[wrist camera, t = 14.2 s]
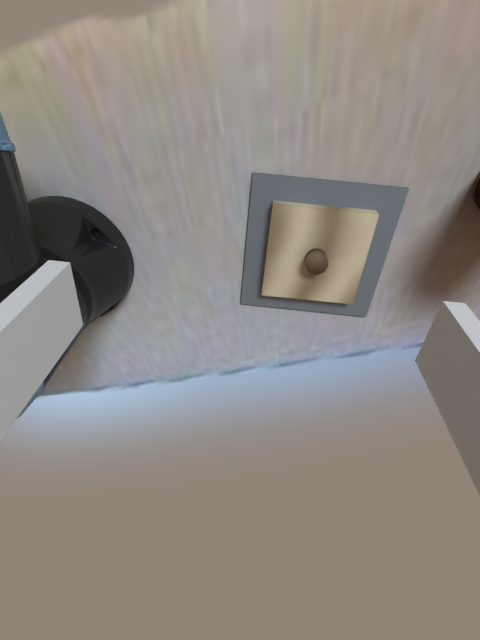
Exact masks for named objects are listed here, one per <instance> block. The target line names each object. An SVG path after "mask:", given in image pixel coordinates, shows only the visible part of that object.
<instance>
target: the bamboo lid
mask: <svg viewBox="0 0 480 640" xmlns="http://www.w3.org/2000/svg"><path fill="white" fill-rule="evenodd" d="M378 217H379V214H378V212H377V211H376V210H367V209H357V208H346V207H336V206H325V205H314V204H304V203H293V202H283V201H273V203H272V211H271V219H270V227H269V235H268V243H267V251H266V260H265V268H264V276H263V284H262V295H264V296H274V297H284V298H294V299H304V300H314V301H324V302H334V303H344V304H353V302H354V298H355V295H356V291H357V288H358V285H359V281H360V278H361V275H362V271H363V268H364V265H365V261H366V258H367V254H368V251H369V248H370V244H371V241H372V238H373V234H374V231H375V228H376V224H377V221H378Z"/></svg>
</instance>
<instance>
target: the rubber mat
mask: <svg viewBox="0 0 480 640" xmlns="http://www.w3.org/2000/svg"><path fill="white" fill-rule="evenodd" d="M408 190H409V188H404V187H394V186H384V185H374V184H364V183H354V182H344V181H333V180H323V179H313V178H303V177H293V176H283V175H273V174H263V173H253V176H252V186H251V197H250V208H249V219H248V229H247V240H246V251H245V262H244V273H243V283H242V294H241V304H247V305H256V306H266V307H276V308H285V309H295V310H305V311H314V312H324V313H333V314H343V315H353V316H362V317H366V315H367V312H368V309H369V306H370V303H371V300H372V297H373V294H374V291H375V288H376V285H377V282H378V279H379V276H380V273H381V270H382V267H383V264H384V261H385V258H386V255H387V252H388V249H389V246H390V243H391V240H392V237H393V234H394V231H395V228H396V225H397V222H398V219H399V216H400V213H401V210H402V207H403V204H404V201H405V199H406V196H407V193H408ZM273 201H283V202H293V203H304V204H314V205H325V206H336V207H346V208H357V209H367V210H376V211H377V212H378V214H379V217H378V221H377V224H376V228H375V231H374V234H373V238H372V241H371V244H370V248H369V251H368V254H367V258H366V261H365V265H364V268H363V271H362V275H361V278H360V281H359V285H358V288H357V291H356V295H355V298H354V302H353V304H344V303H334V302H324V301H314V300H304V299H294V298H284V297H274V296H264V295H262V284H263V276H264V268H265V260H266V251H267V243H268V235H269V227H270V219H271V211H272V203H273Z"/></svg>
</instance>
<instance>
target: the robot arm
mask: <svg viewBox="0 0 480 640" xmlns="http://www.w3.org/2000/svg"><path fill="white" fill-rule="evenodd" d="M14 152H16V149H15V146H14V144H13V143H12V142H11V141H10V139H9V136H8V133H7V130H6V127H5V124H4V121H3V119H2V116H1V113H0V441H1V439H2V438H3V437H4V435H5V434H6V432H7V431H8V430H9V428H10V427H11V426H12V424H13V423H14V421H15V420H16V419H17V418H18V417H20V416H21V415H22V414H23V413H24V412H25V410H26V409H27V407H28V406H29V405H30V404H31V403H32V402H33V401H34V400H35V398H36V397H38V396H40V395H41V394H42V392H43V391H44V388H45V385H46V384H47V382H48V381H49V379H50V378H51V376H52V375H53V373H54V372H55V370H56V369H57V367H58V366H59V364H60V363H61V362H62V360H63V359H64V357H65V356H66V354H67V353H68V351H69V350H70V348H71V347H72V346H73V344H74V343H75V341H76V340H77V338H78V337H79V336H80V334H81V333H82V331H83V330H84V328H85V327H86V325H87V324H89V323H91V322H93V321H94V320H96V319H97V318H98V317H100V316H103V315H105V314H107V313H109V312H110V311H112V310H113V309H114V308H116V307H117V306H118V305H119V304H120V302H121V301H122V300H123V298H124V297H125V295H126V294H127V292H128V290H129V289H130V287H131V284H132V281H133V276H134V263H133V257H132V254H131V251H130V248H129V246H128V244H127V242H126V240H125V238H124V237H123V235H122V234H121V232H120V231H119V230H118V228H117V227H116V226H115V225H114V224H113V223H112V222H111V221H110V220H109V219H108V218H107V217H106V216H105V215H103V214H102V213H101V212H99V211H98V210H96V209H95V208H93V207H91V206H89V205H87V204H85V203H83V202H81V201H78V200H75V199H72V198H67V197H61V196H46V197H40V198H37V199H34V200H32V201H30V202H27V199H26V195H25V192H24V188H23V184H22V181H21V177H20V173H19V169H18V166H17V162H16V158H15V154H14ZM415 361H416V363H417V365H418V367H419V370H420V372H421V373H422V376H423V378H424V380H425V382H426V384H427V386H428V388H429V390H430V392H431V395H432V397H433V399H434V401H435V403H436V405H437V407H438V409H439V411H440V414H441V415H442V417H443V420H444V422H445V424H446V426H447V428H448V430H449V432H450V434H451V437H452V439H453V441H454V443H455V445H456V447H457V449H458V451H459V453H460V456H461V457H462V460H463V462H464V464H465V466H466V468H467V470H468V472H469V474H470V476H471V479H472V481H473V483H474V485H475V487H476V489H477V491H478V493H479V495H480V321H479V320H478V319H477V318H476V316H475V315H474V314H473V312H472V311H471V310H470V309H469V307H468V306H467V305H466V304H465V303H457V302H447V301H443V302H442V305H441V307H440V309H439V311H438V313H437V315H436V317H435V319H434V322H433V324H432V326H431V328H430V330H429V332H428V334H427V336H426V339H425V341H424V343H423V345H422V347H421V349H420V351H419V353H418V355H417V358H416V360H415Z"/></svg>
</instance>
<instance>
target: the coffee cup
mask: <svg viewBox="0 0 480 640" xmlns="http://www.w3.org/2000/svg"><path fill="white" fill-rule="evenodd" d="M473 198H474V201H475V203H476V205H477V206H478V208H479V209H480V175H479V177H478V179H477V180H476V183H475V186H474V192H473Z"/></svg>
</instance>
